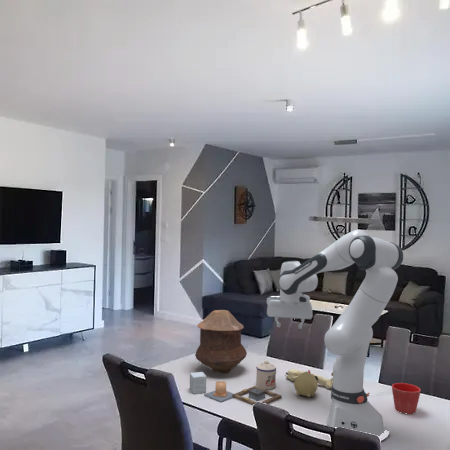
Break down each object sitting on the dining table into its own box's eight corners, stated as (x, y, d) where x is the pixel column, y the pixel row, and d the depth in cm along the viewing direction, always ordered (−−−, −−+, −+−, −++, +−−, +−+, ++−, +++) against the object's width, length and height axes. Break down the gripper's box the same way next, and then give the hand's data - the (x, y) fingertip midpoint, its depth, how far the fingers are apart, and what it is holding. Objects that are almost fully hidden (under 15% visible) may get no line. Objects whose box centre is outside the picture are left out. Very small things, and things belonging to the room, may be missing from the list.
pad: (236, 396, 201) (237, 394, 201) (220, 402, 194) (220, 401, 194) (220, 389, 208) (220, 388, 208) (204, 395, 201) (204, 394, 201)
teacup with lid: (267, 391, 208) (268, 365, 207) (251, 386, 214) (252, 360, 213) (283, 384, 217) (284, 359, 216) (267, 379, 223) (268, 355, 222)
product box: (202, 387, 210) (203, 371, 210) (206, 392, 204) (206, 376, 204) (189, 389, 208) (189, 372, 208) (192, 394, 202) (193, 377, 202)
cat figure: (339, 389, 217) (290, 374, 230) (341, 371, 216) (291, 356, 229) (331, 396, 208) (281, 379, 222) (333, 377, 208) (283, 361, 221)
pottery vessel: (230, 383, 217) (231, 318, 216) (184, 372, 229) (186, 311, 229) (254, 368, 239) (256, 309, 238) (212, 359, 252) (213, 303, 251)
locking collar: (281, 398, 200) (281, 394, 200) (259, 407, 189) (259, 404, 189) (254, 388, 211) (254, 385, 211) (232, 397, 200) (232, 393, 200)
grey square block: (265, 397, 200) (265, 390, 200) (257, 401, 197) (258, 393, 196) (256, 394, 204) (256, 387, 204) (248, 397, 200) (248, 390, 200)
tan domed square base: (225, 397, 198) (225, 385, 198) (213, 396, 199) (213, 384, 199) (228, 392, 203) (228, 381, 203) (216, 391, 205) (217, 379, 205)
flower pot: (396, 403, 198) (397, 380, 198) (423, 410, 191) (424, 387, 191) (387, 410, 190) (387, 387, 190) (414, 418, 183) (415, 394, 183)
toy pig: (321, 393, 207) (322, 369, 207) (312, 402, 197) (313, 377, 196) (300, 389, 212) (301, 365, 212) (290, 397, 202) (291, 372, 201)
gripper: (265, 296, 208) (265, 327, 208) (312, 299, 204) (311, 330, 204) (267, 294, 214) (267, 324, 214) (313, 296, 210) (312, 327, 210)
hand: (289, 327), depth 209 cm, fingers open, 8 cm apart
